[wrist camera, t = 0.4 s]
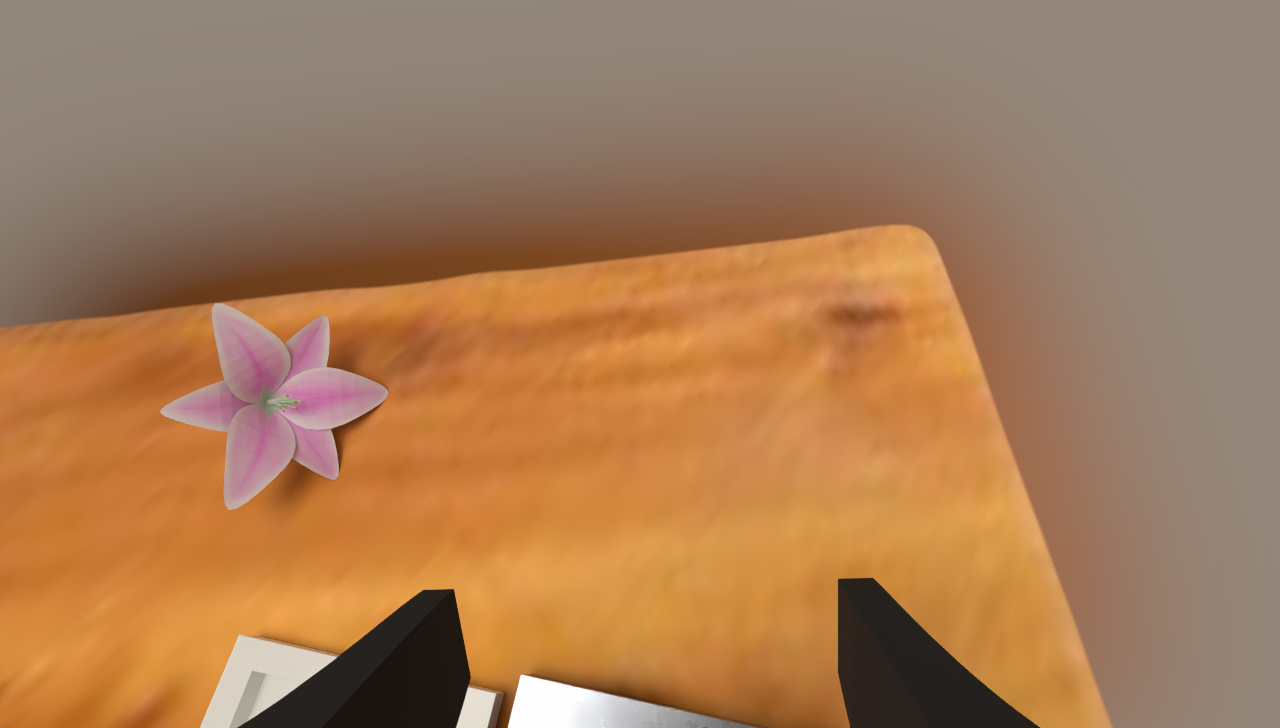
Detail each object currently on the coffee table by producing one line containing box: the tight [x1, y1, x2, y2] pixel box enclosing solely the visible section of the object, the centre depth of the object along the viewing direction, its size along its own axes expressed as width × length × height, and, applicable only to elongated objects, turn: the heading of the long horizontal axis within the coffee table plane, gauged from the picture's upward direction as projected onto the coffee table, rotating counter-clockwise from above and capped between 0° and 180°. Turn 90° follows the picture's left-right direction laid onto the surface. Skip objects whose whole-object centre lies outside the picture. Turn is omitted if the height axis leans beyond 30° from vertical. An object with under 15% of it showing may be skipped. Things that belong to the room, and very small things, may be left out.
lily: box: [160, 303, 388, 510], centre depth 42 cm, size 12×12×10 cm
